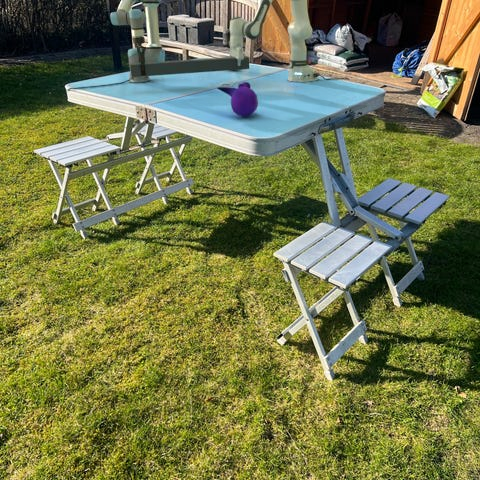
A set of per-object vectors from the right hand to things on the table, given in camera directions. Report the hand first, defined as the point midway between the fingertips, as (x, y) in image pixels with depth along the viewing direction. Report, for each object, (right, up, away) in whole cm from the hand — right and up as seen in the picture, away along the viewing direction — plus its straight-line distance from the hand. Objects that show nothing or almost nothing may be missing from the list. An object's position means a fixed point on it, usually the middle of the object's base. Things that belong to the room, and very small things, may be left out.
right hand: (237, 64), depth 313 cm
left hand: (-63, -12, -15) cm, 66 cm away
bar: (-31, -8, -7) cm, 33 cm away
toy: (+2, -51, -60) cm, 79 cm away
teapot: (-3, +18, +58) cm, 61 cm away
